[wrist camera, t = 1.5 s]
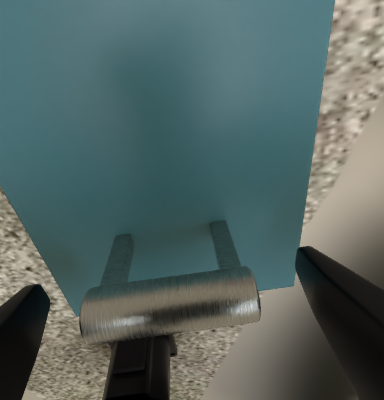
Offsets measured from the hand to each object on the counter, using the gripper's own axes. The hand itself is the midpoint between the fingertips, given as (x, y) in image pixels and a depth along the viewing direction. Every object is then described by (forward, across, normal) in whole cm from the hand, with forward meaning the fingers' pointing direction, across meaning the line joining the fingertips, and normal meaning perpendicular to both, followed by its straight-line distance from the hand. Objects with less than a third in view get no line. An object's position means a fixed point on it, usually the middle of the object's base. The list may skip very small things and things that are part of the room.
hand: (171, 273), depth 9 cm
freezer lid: (+3, 0, -2) cm, 4 cm away
